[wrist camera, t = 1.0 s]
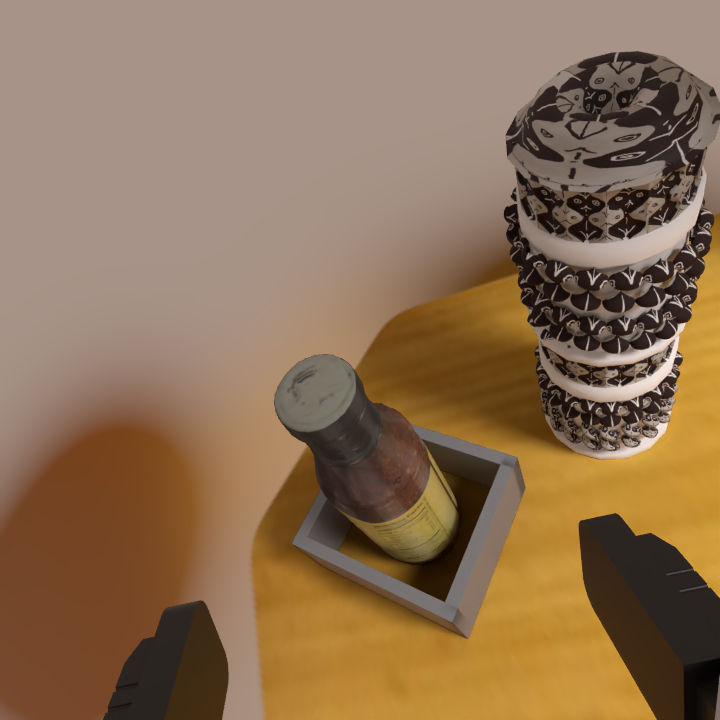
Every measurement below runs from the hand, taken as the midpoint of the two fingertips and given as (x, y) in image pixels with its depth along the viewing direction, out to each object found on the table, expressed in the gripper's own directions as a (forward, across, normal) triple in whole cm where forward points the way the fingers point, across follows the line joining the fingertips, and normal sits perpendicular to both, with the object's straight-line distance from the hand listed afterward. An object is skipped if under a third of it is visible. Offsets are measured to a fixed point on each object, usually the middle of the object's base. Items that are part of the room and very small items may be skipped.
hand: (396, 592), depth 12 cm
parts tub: (+24, -1, +18) cm, 30 cm away
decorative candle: (+27, -16, +13) cm, 34 cm away
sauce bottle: (+24, -1, +18) cm, 30 cm away
